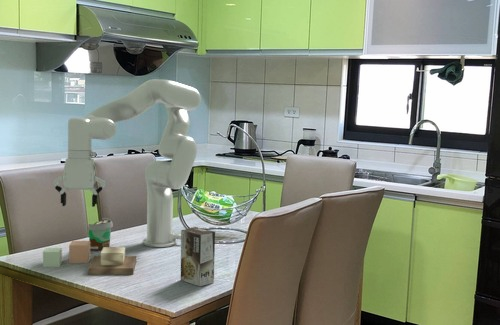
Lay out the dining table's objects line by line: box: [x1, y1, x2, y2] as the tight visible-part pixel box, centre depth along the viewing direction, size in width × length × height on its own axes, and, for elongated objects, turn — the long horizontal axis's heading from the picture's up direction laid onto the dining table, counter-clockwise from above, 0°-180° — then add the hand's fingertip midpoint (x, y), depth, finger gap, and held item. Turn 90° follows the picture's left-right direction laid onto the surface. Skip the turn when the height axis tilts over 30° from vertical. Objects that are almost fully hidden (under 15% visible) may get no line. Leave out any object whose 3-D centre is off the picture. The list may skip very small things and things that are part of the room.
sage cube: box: [42, 247, 63, 268], centre depth 199 cm, size 5×5×5 cm
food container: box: [87, 217, 114, 252], centre depth 220 cm, size 12×6×10 cm, turn 168°
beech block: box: [100, 246, 126, 265], centre depth 198 cm, size 7×7×4 cm
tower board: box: [87, 255, 137, 276], centre depth 198 cm, size 14×14×2 cm
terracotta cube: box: [68, 240, 91, 264], centre depth 205 cm, size 6×6×6 cm
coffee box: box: [180, 226, 216, 287], centre depth 187 cm, size 9×6×16 cm
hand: (79, 205), depth 203 cm, fingers open, 9 cm apart
